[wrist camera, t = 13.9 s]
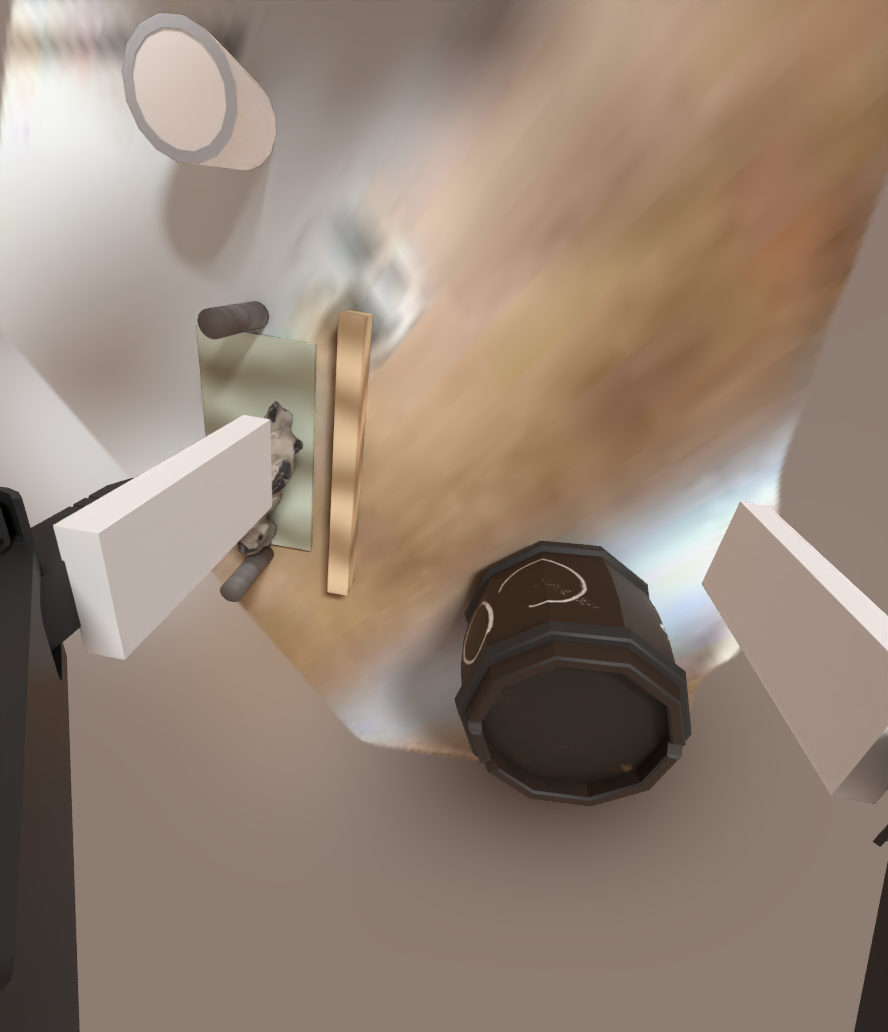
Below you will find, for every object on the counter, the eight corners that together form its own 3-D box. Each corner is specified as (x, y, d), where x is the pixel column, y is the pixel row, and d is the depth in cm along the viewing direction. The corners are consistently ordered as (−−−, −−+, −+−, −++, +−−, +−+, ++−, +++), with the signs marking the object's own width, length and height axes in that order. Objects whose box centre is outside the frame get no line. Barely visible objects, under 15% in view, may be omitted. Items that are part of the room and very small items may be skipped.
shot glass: (294, 174, 36) (250, 156, 30) (206, 186, 37) (145, 171, 31) (271, 50, 33) (216, 0, 27) (175, 66, 34) (101, 22, 27)
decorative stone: (294, 561, 50) (222, 609, 41) (220, 519, 51) (135, 557, 42) (338, 414, 43) (263, 433, 34) (251, 370, 44) (157, 377, 35)
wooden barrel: (429, 612, 52) (401, 739, 38) (549, 495, 45) (568, 600, 31) (555, 700, 56) (571, 845, 42) (685, 606, 48) (758, 744, 34)
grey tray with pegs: (195, 284, 40) (138, 288, 34) (372, 314, 39) (347, 323, 33) (218, 556, 52) (179, 596, 46) (354, 581, 51) (333, 624, 45)
